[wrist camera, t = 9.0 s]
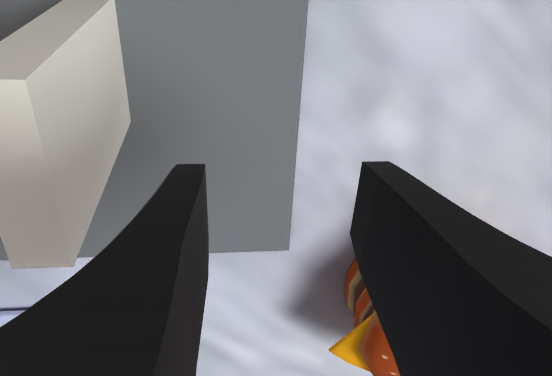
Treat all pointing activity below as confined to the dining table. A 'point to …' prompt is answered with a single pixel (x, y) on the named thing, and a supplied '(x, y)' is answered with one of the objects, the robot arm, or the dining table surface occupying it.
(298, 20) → the mat
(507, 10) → the dining table surface
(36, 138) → the domino
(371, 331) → the hamburger
